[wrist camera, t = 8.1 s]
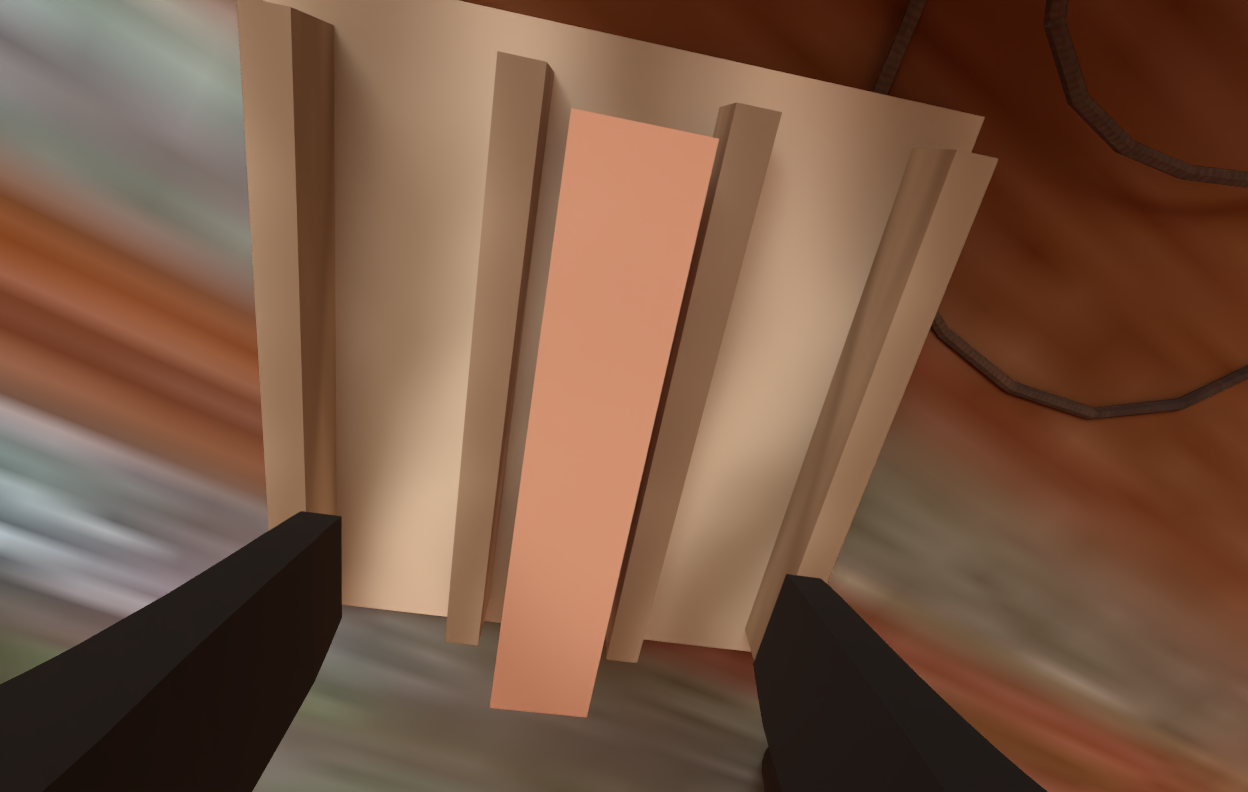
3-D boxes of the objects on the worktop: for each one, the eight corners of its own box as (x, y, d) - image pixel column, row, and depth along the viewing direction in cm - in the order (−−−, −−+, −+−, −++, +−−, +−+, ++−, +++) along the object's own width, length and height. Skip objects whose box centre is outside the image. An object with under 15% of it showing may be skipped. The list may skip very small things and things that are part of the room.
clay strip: (516, 574, 20) (489, 707, 15) (581, 118, 14) (571, 107, 10) (590, 584, 20) (586, 717, 15) (682, 138, 14) (718, 138, 10)
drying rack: (307, 574, 21) (258, 645, 18) (288, -29, 14) (204, -74, 11) (768, 629, 23) (793, 702, 20) (958, 118, 16) (1039, 114, 13)
